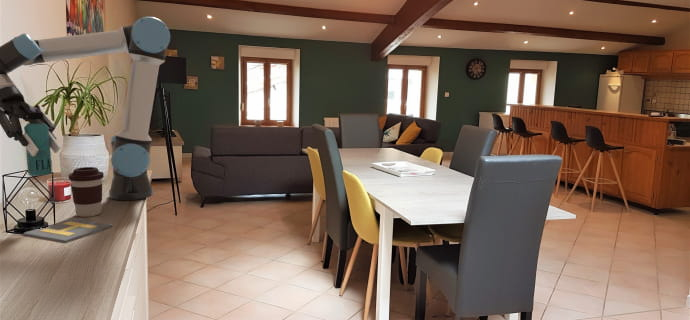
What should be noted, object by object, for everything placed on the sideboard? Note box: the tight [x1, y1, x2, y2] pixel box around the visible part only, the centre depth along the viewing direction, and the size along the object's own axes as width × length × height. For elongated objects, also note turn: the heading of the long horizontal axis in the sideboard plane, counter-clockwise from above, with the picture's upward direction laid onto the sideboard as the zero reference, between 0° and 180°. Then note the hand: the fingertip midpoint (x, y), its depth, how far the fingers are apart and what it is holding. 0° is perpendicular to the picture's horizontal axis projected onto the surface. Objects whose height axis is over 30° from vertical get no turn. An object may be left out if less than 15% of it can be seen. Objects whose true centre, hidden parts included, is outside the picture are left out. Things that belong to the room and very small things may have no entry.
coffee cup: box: [68, 166, 105, 218], centre depth 161 cm, size 10×10×15 cm
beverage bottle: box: [23, 111, 53, 177], centre depth 149 cm, size 6×7×20 cm
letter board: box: [23, 218, 113, 243], centre depth 145 cm, size 16×16×1 cm
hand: (46, 151), depth 147 cm, fingers closed on beverage bottle, 6 cm apart
